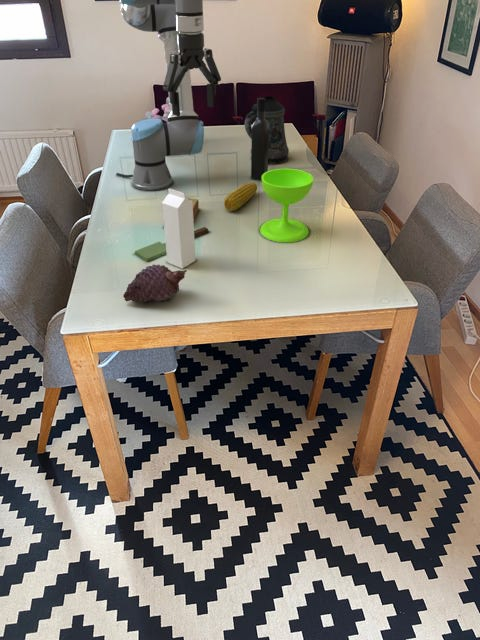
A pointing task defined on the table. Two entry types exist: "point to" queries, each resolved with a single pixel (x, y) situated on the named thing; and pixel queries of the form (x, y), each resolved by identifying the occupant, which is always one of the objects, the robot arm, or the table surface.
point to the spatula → (161, 247)
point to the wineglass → (285, 203)
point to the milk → (178, 229)
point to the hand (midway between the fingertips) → (194, 111)
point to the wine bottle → (259, 142)
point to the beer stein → (272, 129)
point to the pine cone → (154, 284)
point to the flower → (155, 111)
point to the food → (240, 196)
